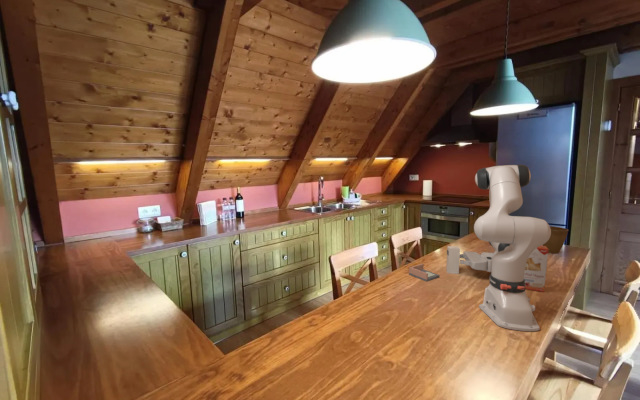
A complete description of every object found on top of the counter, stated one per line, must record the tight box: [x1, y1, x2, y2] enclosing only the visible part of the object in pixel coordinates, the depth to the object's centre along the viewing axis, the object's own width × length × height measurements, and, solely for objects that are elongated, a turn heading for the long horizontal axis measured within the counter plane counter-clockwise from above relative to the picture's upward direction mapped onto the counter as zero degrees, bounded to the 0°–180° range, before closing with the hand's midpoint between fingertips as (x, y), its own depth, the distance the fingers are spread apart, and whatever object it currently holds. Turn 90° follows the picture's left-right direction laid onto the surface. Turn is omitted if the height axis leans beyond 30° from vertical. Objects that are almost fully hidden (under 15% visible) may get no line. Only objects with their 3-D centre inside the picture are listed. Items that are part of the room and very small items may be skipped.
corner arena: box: [408, 263, 440, 282], centre depth 158 cm, size 11×10×4 cm
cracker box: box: [524, 245, 549, 293], centre depth 141 cm, size 14×6×21 cm, turn 62°
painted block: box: [445, 245, 461, 275], centre depth 162 cm, size 4×6×14 cm
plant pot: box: [542, 225, 569, 254], centre depth 196 cm, size 15×15×16 cm
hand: (458, 259), depth 161 cm, fingers open, 8 cm apart
